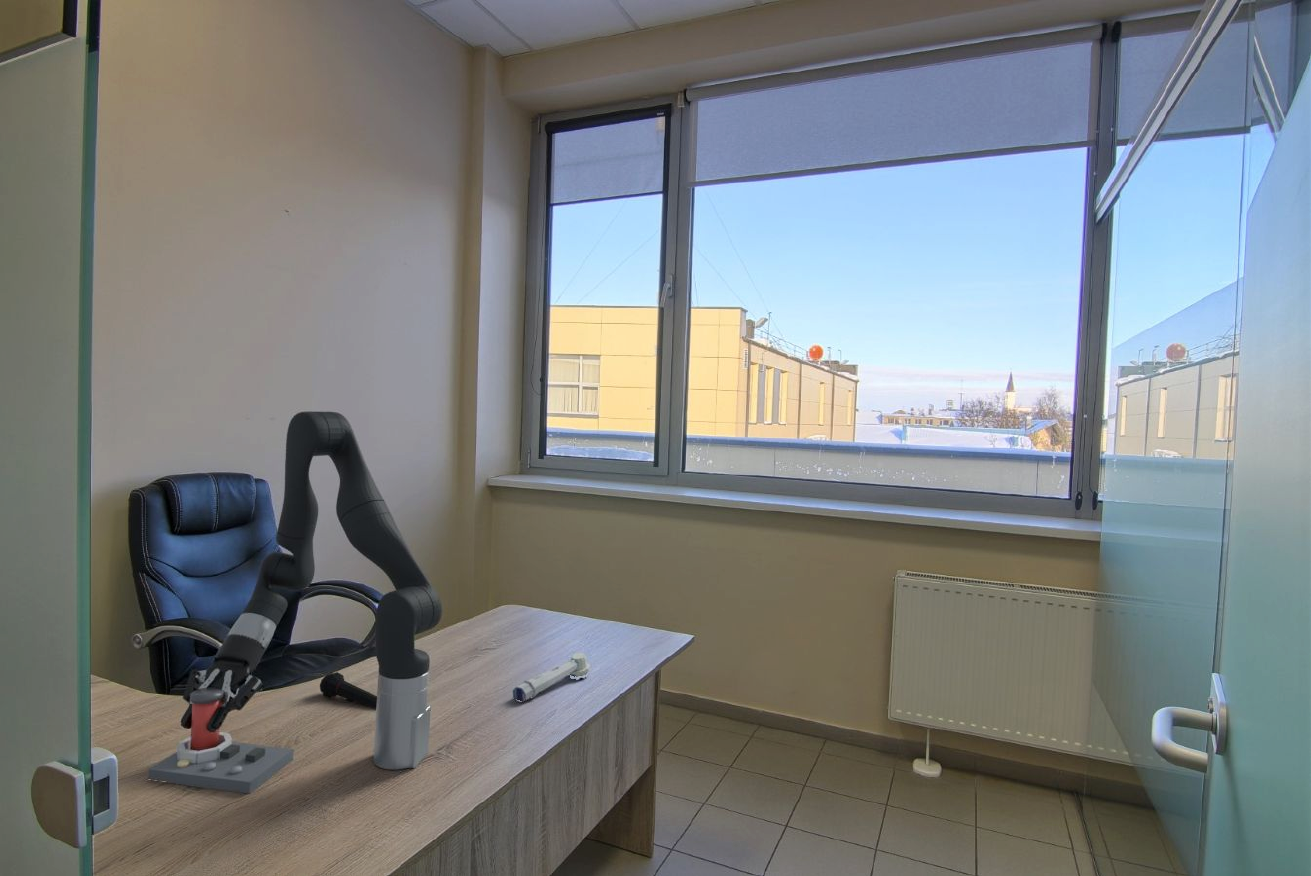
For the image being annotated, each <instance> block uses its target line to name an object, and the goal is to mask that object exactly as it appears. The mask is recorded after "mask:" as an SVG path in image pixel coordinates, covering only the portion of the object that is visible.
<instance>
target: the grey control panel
mask: <svg viewBox="0 0 1311 876" xmlns="http://www.w3.org/2000/svg"><path fill="white" fill-rule="evenodd" d="M190 741H191V735H190V736H188V737H187V738H184V739H183V740H181V741H179V742H178V743H177V744H176V752H175V753H172V754H171V755H169V756H168V757H166V758H164V759H163V760H161V761H159V762H158V763H156V764H154V765H153V766H151V767H150V768H148V769H147V780H148V779H151V780H157V781H166V782H170V783H169V784H171V783H176V784H175V785H179V784H182V785H181V786H187V785H190V786H189V787H194V786H196V787H197V788H202V787H203V788H204V789H211V790H219V791H225V792H234V793H241V794H251V793H253V792H254V791H256V790H257V788H259V787H260V786H261V785H263V784H264V783H265V782H267V781H268V780H269V779H271V777H273V776H274V775H276V774H277V773H278V772H279V771H281V770H282V769H283V768H285V766H287V765H289V764H290V763H291V762H292V761H294V749H293V748H286V747H278V746H271V745H270V746H269V745H263V744H262V745H261V744H255V743H244V742H236V741H233V739H232V736H231V734H230V733H228V732H223V731H222V732H221V731H219V744H218V746H217V747H215V748H210V749H205V750H201V751H195V750H191V749H190Z"/></svg>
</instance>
